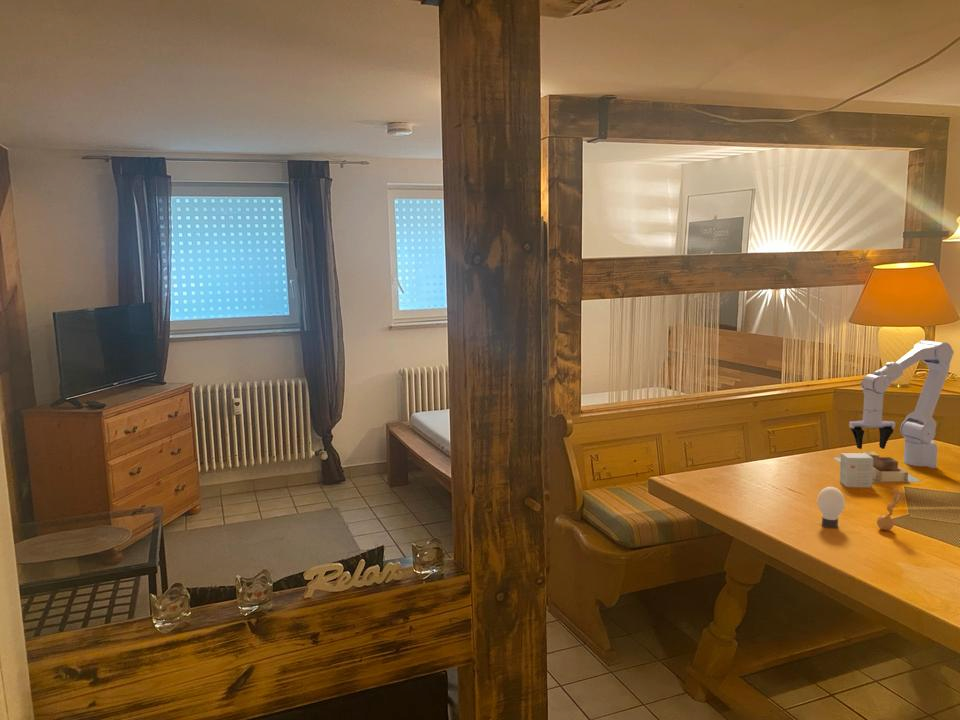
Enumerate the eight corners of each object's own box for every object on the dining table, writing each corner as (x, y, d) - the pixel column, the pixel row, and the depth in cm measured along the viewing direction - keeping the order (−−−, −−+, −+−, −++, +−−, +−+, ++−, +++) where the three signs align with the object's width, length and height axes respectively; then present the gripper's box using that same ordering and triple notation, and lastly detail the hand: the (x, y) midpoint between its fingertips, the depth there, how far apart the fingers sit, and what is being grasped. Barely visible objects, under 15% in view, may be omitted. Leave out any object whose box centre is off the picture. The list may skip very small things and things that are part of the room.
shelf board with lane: (878, 459, 256) (878, 449, 255) (921, 483, 228) (922, 472, 228) (832, 459, 257) (833, 449, 256) (870, 484, 229) (871, 472, 229)
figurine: (878, 523, 196) (880, 482, 194) (903, 527, 193) (906, 485, 191) (875, 533, 189) (877, 490, 188) (901, 538, 186) (903, 494, 184)
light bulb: (823, 530, 192) (825, 491, 191) (811, 521, 199) (813, 483, 198) (848, 529, 193) (850, 490, 191) (835, 520, 199) (837, 482, 198)
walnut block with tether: (874, 465, 246) (875, 449, 245) (896, 479, 231) (898, 461, 230) (859, 466, 246) (860, 449, 245) (881, 479, 231) (882, 461, 230)
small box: (864, 484, 229) (866, 452, 228) (872, 489, 224) (874, 457, 222) (838, 484, 230) (840, 452, 229) (845, 489, 225) (847, 457, 223)
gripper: (888, 406, 245) (886, 444, 247) (845, 407, 246) (843, 445, 247) (899, 411, 238) (897, 450, 240) (855, 411, 239) (853, 450, 240)
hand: (870, 448), depth 243 cm, fingers open, 7 cm apart
